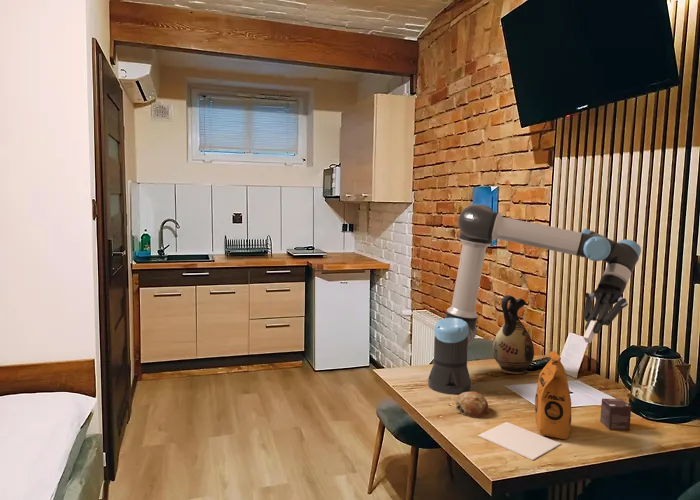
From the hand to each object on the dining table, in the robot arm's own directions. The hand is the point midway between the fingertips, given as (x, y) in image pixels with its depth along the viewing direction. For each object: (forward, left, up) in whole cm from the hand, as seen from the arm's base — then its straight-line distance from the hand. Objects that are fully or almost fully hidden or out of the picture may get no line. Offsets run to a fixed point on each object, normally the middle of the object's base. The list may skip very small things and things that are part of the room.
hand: (586, 340), depth 156 cm
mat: (-3, -30, -24) cm, 39 cm away
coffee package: (-1, -17, -24) cm, 30 cm away
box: (+9, +1, -24) cm, 26 cm away
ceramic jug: (-38, +19, -24) cm, 49 cm away
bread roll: (-24, -24, -24) cm, 42 cm away
